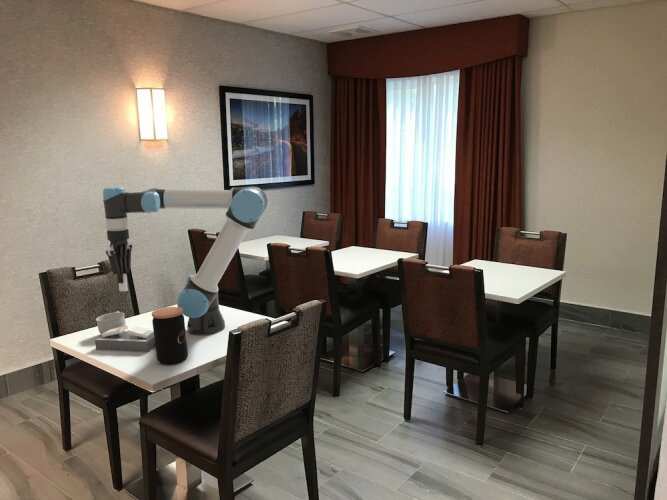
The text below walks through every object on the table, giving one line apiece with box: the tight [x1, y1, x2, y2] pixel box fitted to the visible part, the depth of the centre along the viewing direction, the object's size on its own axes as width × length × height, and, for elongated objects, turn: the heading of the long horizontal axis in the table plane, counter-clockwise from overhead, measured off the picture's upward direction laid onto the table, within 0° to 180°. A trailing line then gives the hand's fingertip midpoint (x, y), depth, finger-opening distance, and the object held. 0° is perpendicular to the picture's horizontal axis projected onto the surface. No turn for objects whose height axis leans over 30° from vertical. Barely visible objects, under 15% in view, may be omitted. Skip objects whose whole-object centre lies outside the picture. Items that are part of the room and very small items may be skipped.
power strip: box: [94, 330, 156, 353], centre depth 208 cm, size 26×10×5 cm, turn 78°
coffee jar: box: [151, 306, 189, 366], centre depth 191 cm, size 11×11×18 cm
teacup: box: [95, 310, 127, 335], centre depth 223 cm, size 14×11×8 cm
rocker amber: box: [101, 325, 129, 337], centre depth 209 cm, size 8×5×1 cm, turn 77°
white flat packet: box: [127, 325, 154, 338], centre depth 206 cm, size 8×5×1 cm, turn 79°
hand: (123, 290), depth 206 cm, fingers closed
